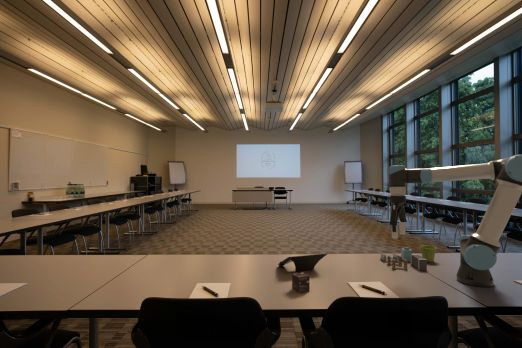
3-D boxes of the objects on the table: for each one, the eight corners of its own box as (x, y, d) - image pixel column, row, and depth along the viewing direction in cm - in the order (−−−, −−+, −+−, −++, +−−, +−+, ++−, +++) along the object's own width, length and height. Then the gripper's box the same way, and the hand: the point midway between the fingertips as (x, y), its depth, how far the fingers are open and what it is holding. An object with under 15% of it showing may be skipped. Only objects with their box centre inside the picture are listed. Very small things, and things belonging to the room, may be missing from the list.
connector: (409, 259, 191) (409, 246, 191) (412, 261, 186) (412, 248, 186) (401, 259, 191) (401, 246, 192) (404, 261, 186) (404, 248, 187)
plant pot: (439, 261, 186) (439, 247, 187) (432, 263, 181) (432, 249, 181) (424, 258, 194) (424, 244, 194) (416, 260, 189) (416, 246, 189)
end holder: (394, 258, 192) (393, 252, 192) (398, 262, 184) (398, 255, 184) (380, 258, 193) (380, 252, 193) (384, 262, 185) (384, 255, 185)
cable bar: (417, 264, 180) (417, 254, 180) (426, 270, 168) (426, 259, 168) (410, 264, 180) (410, 254, 180) (419, 270, 168) (419, 259, 169)
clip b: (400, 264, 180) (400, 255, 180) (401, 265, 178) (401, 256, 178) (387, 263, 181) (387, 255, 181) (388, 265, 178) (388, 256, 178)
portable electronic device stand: (312, 274, 180) (309, 258, 185) (330, 266, 161) (326, 249, 165) (276, 278, 173) (274, 262, 177) (291, 270, 154) (288, 252, 158)
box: (298, 293, 134) (298, 277, 134) (291, 289, 140) (291, 273, 140) (309, 291, 136) (309, 275, 137) (302, 287, 142) (302, 272, 142)
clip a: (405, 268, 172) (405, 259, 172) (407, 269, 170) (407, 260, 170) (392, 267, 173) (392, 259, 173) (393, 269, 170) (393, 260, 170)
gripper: (397, 193, 167) (398, 232, 166) (382, 196, 147) (383, 239, 147) (411, 194, 162) (412, 233, 161) (398, 196, 143) (399, 241, 142)
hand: (398, 236), depth 154 cm, fingers open, 13 cm apart
